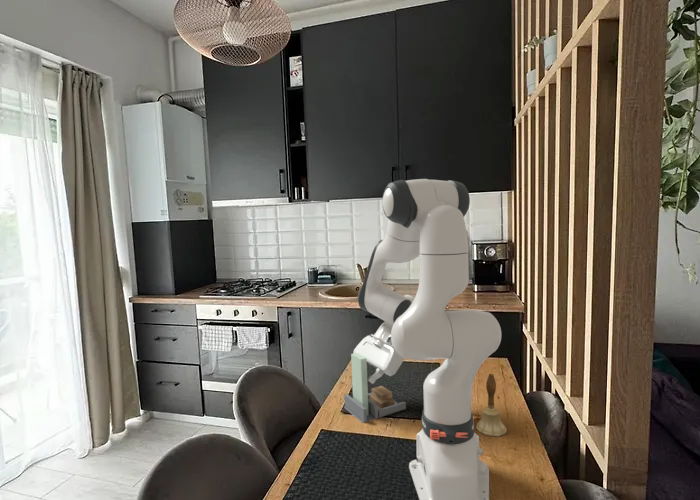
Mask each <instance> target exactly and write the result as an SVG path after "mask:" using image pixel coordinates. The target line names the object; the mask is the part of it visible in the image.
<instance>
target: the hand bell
mask: <svg viewBox="0 0 700 500" xmlns="http://www.w3.org/2000/svg"><path fill="white" fill-rule="evenodd" d="M485 384H486V385H485V387H486V393H487V399H488V400H487V407H484V408H483V409H482V415H481V419H480V420H479V421H478V422H477V423H476V425H475V429H476V430H477V432H479V433H481V434H483V435H486V436H488V437H500V436H501V437H502V436H503V435H505V434H507V430H508V429H507V427H506V425H505V424H504V423H503V422H502V419H501V416H500V410H498V409H497V408H495V394H496V391H497V382H496V378H495V376H494V374H493V373H489V374H488V377H487V379H486V383H485Z"/></svg>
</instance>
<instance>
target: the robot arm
mask: <svg viewBox="0 0 700 500" xmlns="http://www.w3.org/2000/svg"><path fill="white" fill-rule="evenodd" d="M470 201H471V199H470V193H469V191H468V188H467V187H466V185H465V184H464V183H463V182H459V181H456V180H449V179H448V180H441V179H440V180H439V179H428V178H419V179H418V178H417V179H409V180H408V179H407V180H405V179H399V180H396V181H392V182H389V183H388V184H387V186H386V187H385V188H384V191H383V195H382V209H383V210H382V211H383V213H384V215H385V217H386V218H387V219H388V220H387V226H386V232H385V235H384V238H383V239H381V240H379V241H378V242H377V243H376V244H375V246H374V248H373V250H372V253H371V256H370V258H369V262H368V266H367V269H366V271H365V272H366V273H365V276H364V280H363V283H362V284H361V286H360V289H359V291H358V294H357V302H358V305H359V308H360V309H361V310H363V311H365V312H367V313H369V314H371V315H373V316H375V317H377V318H378V319H380V320H382V321H383V323H381V324H380V326H379V327H378V329H377V330H376V332H375V333H371V334H369V335H366V336H365V337H363V338H362V339H361V341H359V343H358V344H357V345H356V347H355V348H354V349H353V353H358V354H360V355H362V356H363V357H365V358H367V365H370V366H371V367H373V368H375V372H374V373H373V374H372V375H371V374H369V377H367V382H370V383H371V384H374V383H375V382H376V381H377V380H378V379H379V378H382V376H383V375H384V374H385V375H387V376H388V377H393V376H395V374H397V372H398V371H399V369H400V368H401V366H402V364H403V362H404V359H409V360H415V361H416V360H417V361H429V360H442V359H443V360H444V359H445V360H444V361H443V362H442V363H441V365H440V366H439V367H437V368H436V369H434V370H433V371H431V372H430V373H428V375H427V376H426V377H425V379H424V381H423V385H422V386H423V389H422V390H423V409H422V413H421V425H422V426H421V427H422V429H421V430H420V431H419V432H418V433H416V459H413V460H411V461H410V462H409V463H408V469H409V472H410V475H411V478H412V481H413V485H414V487H415V491H416V493H417V496H418V500H490V469H489V466H488V465H487V463H486V462H483V460H480V456H483V448H480V437H479V435H478V434H477V433H475V428H474V427H475V423H474V422H475V421H474V415H473V413H472V393H473V386H474V381H475V378H476V375H477V373H478V371H479V369H480V368H481V366H482V364H483V363H484V362H485V361H486V360H487V358H488V357H490V356H491V355H492V354H493V353H495V352H496V351H497V350H498V348H499V346H500V345H501V341H502V329H501V326H500V323H499V321H498V320H497V318H496V317H495V315H493V314H492V313H491V312H488V311H484V310H483V311H482V310H477V309H459V310H458V309H457V310H456V309H455V310H446V307H447V305H448V304H449V303H450V301H451V300H452V299H453V298H455V297H458V296H459V295H461V294H462V293H463V292H465V290H466V289H467V287H468V285H469V282H470V278H469V277H470V274H469V273H470V271H469V269H470V268H469V266H470V265H469V243H468V234H467V233H468V231H467V228H466V222H465V216H466V215H467V212H468V210H469V208H470V204H471V203H470ZM418 257H419V277H418V278H419V279H418V280H419V281H418V288H417V291H416V294H415V296H413V295H410V294H404V295H402V294H400V293H398V292H396V291H394V290H392V289H390V288H388V287H386V286H385V285H384V283H383V282H382V279H383V276H384V273H385V270H386V268H387V264H389V263H391V264H403V263H408V262H411V261H414V260H415V259H416V258H418ZM353 353H352V354H353Z"/></svg>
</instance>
